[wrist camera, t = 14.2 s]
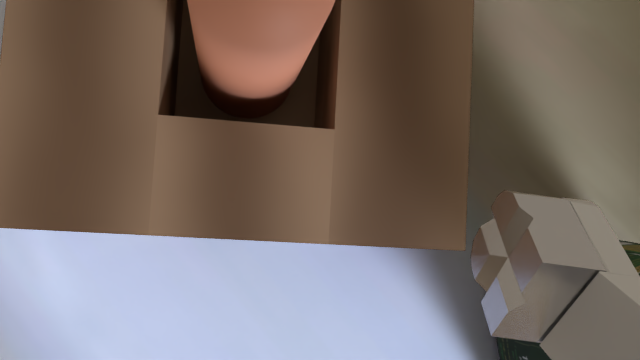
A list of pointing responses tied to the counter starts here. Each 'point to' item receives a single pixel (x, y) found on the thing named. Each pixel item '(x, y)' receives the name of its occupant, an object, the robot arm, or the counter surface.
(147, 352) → the counter surface
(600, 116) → the counter surface
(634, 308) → the robot arm
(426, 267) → the counter surface
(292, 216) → the socket plate
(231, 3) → the peg
